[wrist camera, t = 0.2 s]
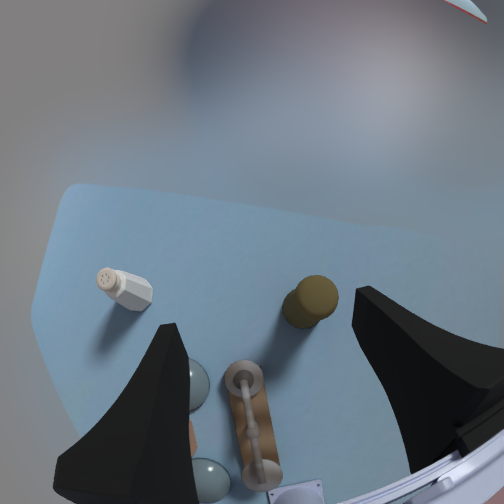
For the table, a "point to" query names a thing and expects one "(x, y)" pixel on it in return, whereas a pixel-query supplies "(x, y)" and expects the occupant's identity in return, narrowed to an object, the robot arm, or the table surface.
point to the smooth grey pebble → (210, 480)
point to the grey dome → (198, 384)
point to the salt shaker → (125, 288)
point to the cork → (310, 301)
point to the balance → (253, 426)
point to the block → (192, 439)
